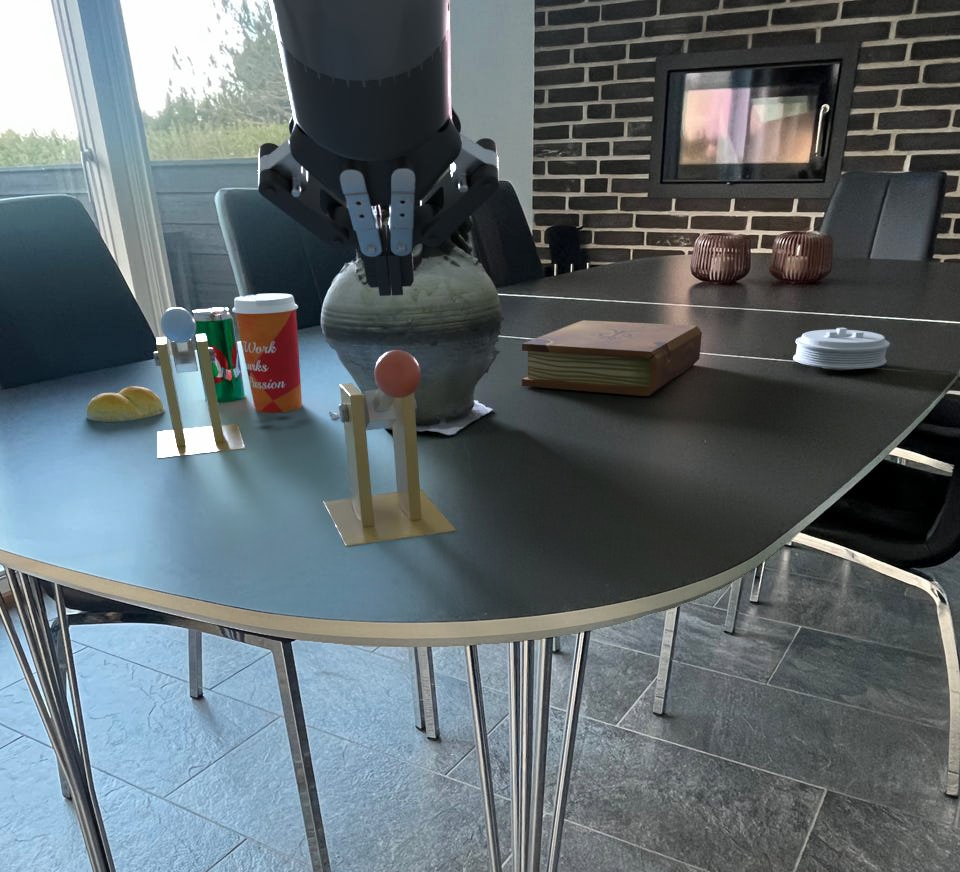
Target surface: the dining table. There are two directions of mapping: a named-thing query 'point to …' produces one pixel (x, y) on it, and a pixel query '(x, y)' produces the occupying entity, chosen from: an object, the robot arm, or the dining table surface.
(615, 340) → the diary
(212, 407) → the hanging ball swing frame
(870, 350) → the lid
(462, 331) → the decorative urn
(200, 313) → the soda can
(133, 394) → the bread roll
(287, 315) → the paper cup
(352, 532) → the swinging ball frame
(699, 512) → the dining table surface
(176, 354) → the lever
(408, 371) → the lever
